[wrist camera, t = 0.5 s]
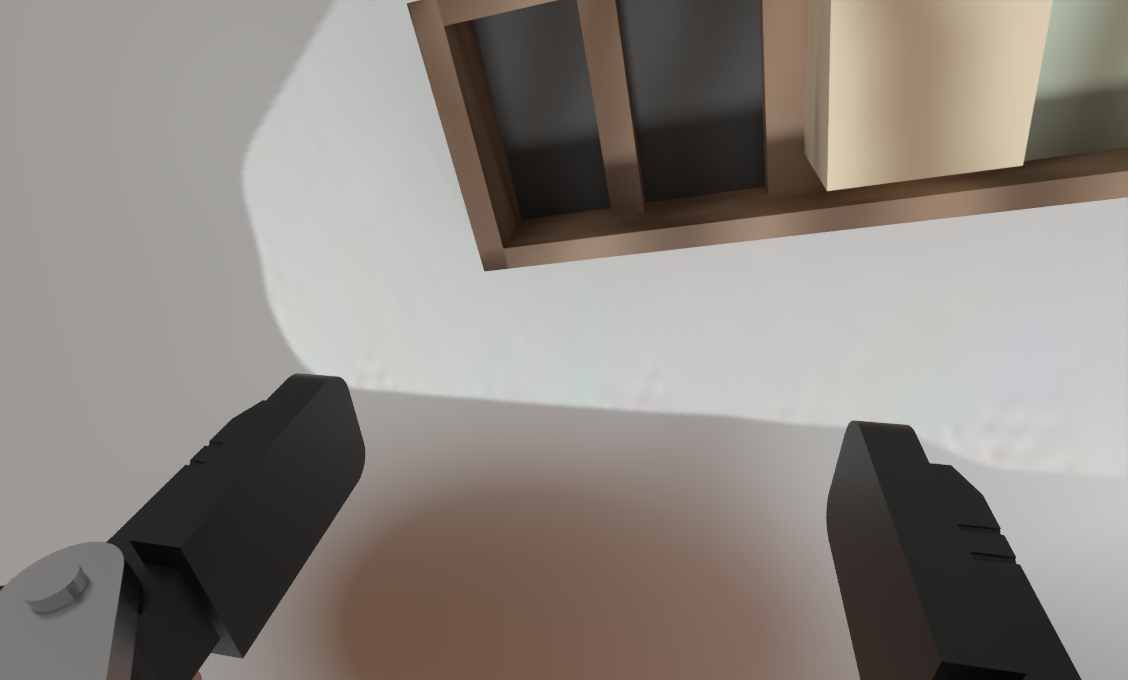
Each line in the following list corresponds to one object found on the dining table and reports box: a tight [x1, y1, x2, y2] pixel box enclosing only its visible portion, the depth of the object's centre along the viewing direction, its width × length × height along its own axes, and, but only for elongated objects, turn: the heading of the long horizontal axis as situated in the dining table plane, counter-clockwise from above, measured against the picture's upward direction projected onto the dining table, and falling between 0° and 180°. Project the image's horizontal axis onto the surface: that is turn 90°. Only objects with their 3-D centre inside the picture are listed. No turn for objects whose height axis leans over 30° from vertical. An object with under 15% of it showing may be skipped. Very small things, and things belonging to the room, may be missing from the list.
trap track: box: [407, 0, 1128, 271], centre depth 23 cm, size 31×11×5 cm, turn 102°
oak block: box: [804, 0, 1053, 191], centre depth 21 cm, size 6×6×5 cm
